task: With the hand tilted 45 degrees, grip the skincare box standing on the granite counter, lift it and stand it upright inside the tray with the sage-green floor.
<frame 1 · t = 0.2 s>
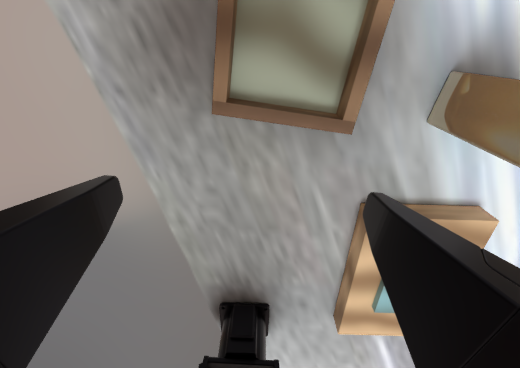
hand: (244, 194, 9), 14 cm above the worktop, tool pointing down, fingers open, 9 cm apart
tray: (294, 44, 19), on the worktop
skincare box: (468, 103, 21), on the worktop
deck: (396, 268, 30), on the worktop
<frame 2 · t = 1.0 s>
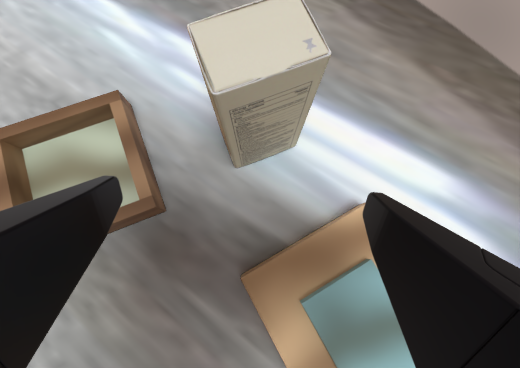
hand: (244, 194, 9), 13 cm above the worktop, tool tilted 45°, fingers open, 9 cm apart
tray: (87, 177, 23), on the worktop
skincare box: (256, 139, 24), on the worktop
deck: (361, 338, 20), on the worktop
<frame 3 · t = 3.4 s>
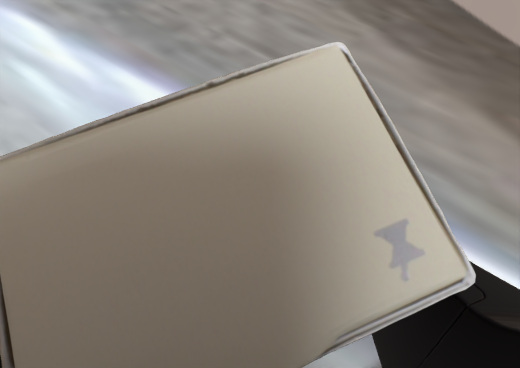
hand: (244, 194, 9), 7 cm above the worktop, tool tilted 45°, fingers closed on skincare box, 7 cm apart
skincare box: (246, 239, 15), on the worktop, touching gripper
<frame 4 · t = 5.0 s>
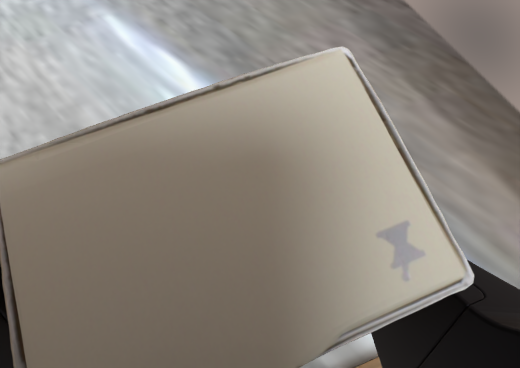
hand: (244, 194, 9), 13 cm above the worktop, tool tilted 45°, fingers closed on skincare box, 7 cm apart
skincare box: (245, 238, 16), point 6 cm above the worktop, touching gripper
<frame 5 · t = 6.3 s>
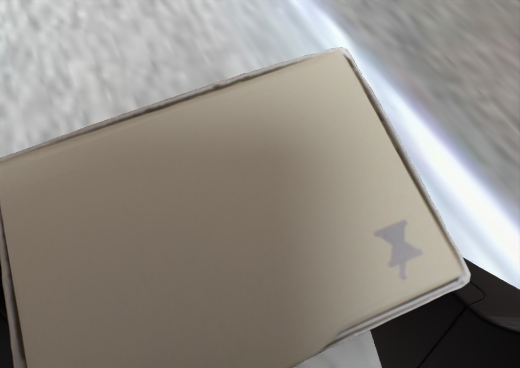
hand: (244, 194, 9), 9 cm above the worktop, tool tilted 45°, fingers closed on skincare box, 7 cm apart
skincare box: (244, 238, 16), point 2 cm above the worktop, touching gripper
when the fingers open (8 cm above the worktop, at t = 7.1 s): skincare box stays where it is, resting on tray.
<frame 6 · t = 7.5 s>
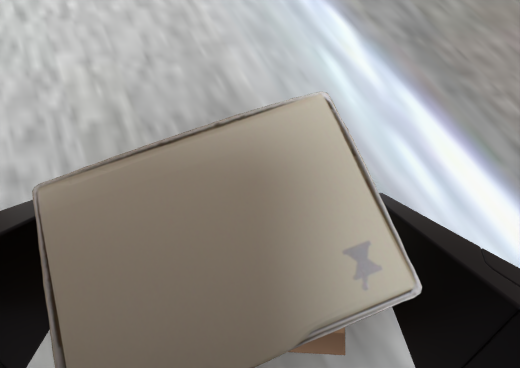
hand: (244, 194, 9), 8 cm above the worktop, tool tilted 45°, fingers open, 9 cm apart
tray: (246, 239, 17), on the worktop
skincare box: (244, 242, 16), resting on tray
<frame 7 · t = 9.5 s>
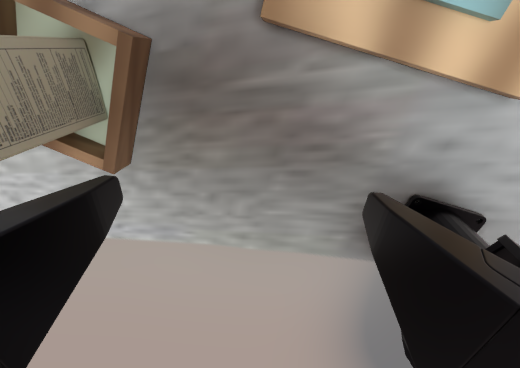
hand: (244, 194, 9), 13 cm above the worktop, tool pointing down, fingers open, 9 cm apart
tray: (76, 81, 21), on the worktop
skincare box: (77, 83, 21), resting on tray
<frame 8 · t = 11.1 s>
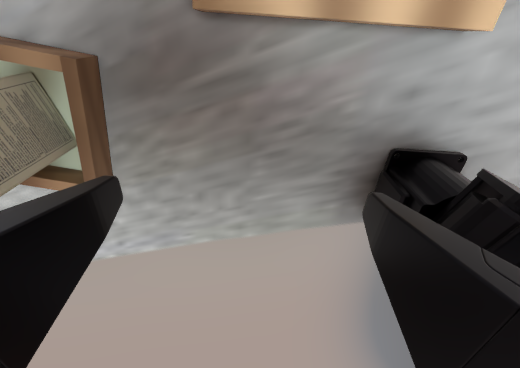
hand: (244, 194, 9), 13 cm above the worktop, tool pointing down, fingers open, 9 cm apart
tray: (38, 114, 21), on the worktop
skincare box: (39, 117, 21), resting on tray
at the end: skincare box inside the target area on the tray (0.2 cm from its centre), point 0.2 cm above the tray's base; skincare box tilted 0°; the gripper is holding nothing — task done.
